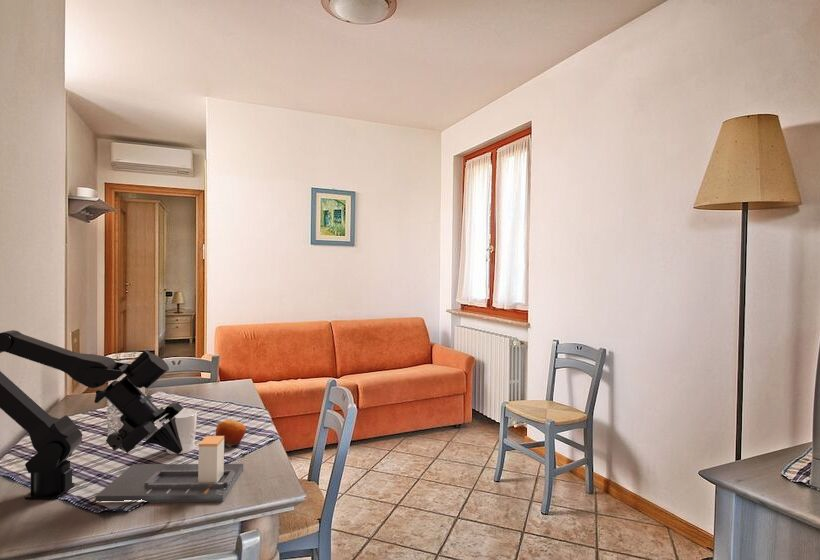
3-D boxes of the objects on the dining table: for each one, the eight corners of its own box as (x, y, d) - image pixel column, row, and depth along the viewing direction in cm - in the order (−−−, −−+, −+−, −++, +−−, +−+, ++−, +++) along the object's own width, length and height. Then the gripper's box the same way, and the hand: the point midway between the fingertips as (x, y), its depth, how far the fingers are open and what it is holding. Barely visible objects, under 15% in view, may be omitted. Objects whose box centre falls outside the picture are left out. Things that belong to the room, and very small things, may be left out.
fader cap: (198, 484, 105) (198, 443, 105) (205, 474, 110) (206, 435, 110) (216, 483, 105) (217, 443, 105) (223, 474, 110) (224, 435, 110)
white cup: (183, 457, 124) (184, 419, 124) (157, 453, 125) (157, 416, 125) (202, 446, 132) (203, 410, 131) (177, 443, 133) (178, 407, 133)
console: (95, 503, 99) (95, 492, 99) (133, 470, 115) (133, 461, 115) (223, 501, 101) (223, 491, 101) (243, 469, 117) (243, 460, 117)
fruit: (204, 445, 128) (214, 415, 132) (218, 451, 135) (227, 422, 139) (232, 448, 127) (240, 418, 131) (244, 453, 134) (252, 424, 138)
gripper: (125, 414, 115) (171, 460, 116) (78, 442, 96) (132, 496, 98) (160, 383, 116) (205, 429, 117) (119, 405, 97) (173, 459, 98)
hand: (180, 452), depth 107 cm, fingers closed
